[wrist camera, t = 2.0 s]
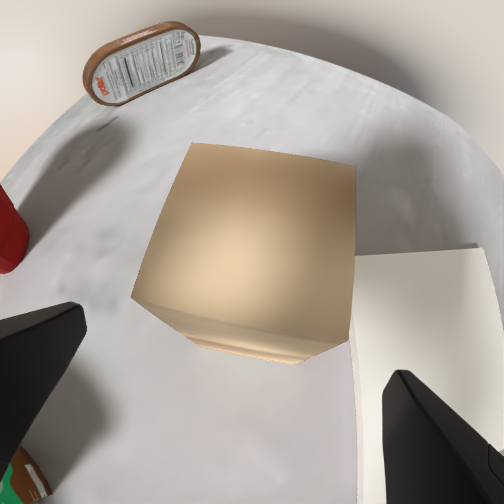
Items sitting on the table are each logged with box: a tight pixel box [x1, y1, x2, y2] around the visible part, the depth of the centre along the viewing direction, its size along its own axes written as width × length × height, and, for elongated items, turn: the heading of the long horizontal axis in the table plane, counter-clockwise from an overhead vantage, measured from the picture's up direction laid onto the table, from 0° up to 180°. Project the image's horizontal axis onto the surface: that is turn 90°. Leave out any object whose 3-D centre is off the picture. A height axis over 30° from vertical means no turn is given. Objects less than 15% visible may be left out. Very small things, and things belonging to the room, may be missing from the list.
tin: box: [83, 21, 201, 106], centre depth 26 cm, size 15×3×8 cm, turn 126°
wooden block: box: [131, 143, 356, 365], centre depth 13 cm, size 6×6×11 cm
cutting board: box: [349, 248, 504, 504], centre depth 15 cm, size 18×14×1 cm
